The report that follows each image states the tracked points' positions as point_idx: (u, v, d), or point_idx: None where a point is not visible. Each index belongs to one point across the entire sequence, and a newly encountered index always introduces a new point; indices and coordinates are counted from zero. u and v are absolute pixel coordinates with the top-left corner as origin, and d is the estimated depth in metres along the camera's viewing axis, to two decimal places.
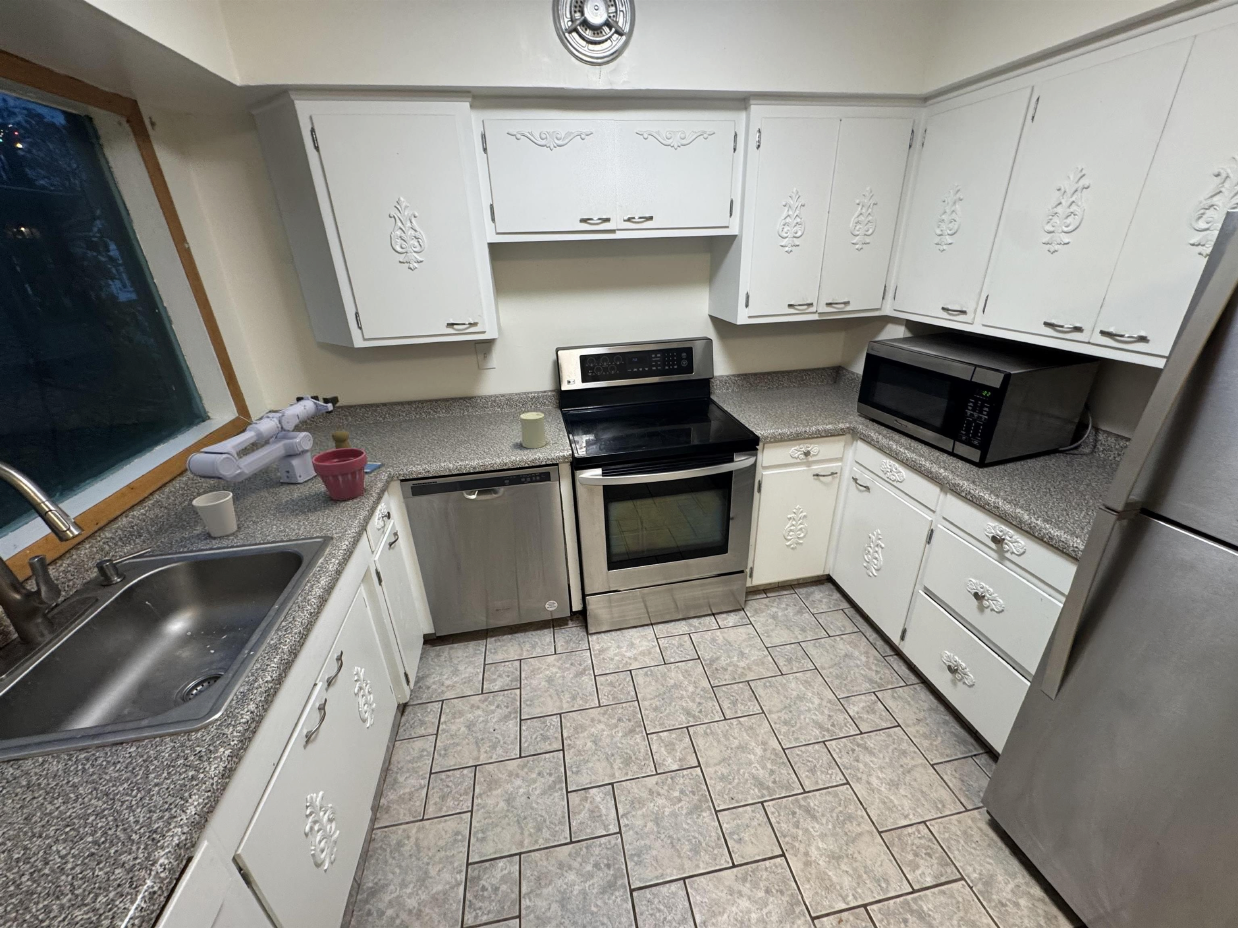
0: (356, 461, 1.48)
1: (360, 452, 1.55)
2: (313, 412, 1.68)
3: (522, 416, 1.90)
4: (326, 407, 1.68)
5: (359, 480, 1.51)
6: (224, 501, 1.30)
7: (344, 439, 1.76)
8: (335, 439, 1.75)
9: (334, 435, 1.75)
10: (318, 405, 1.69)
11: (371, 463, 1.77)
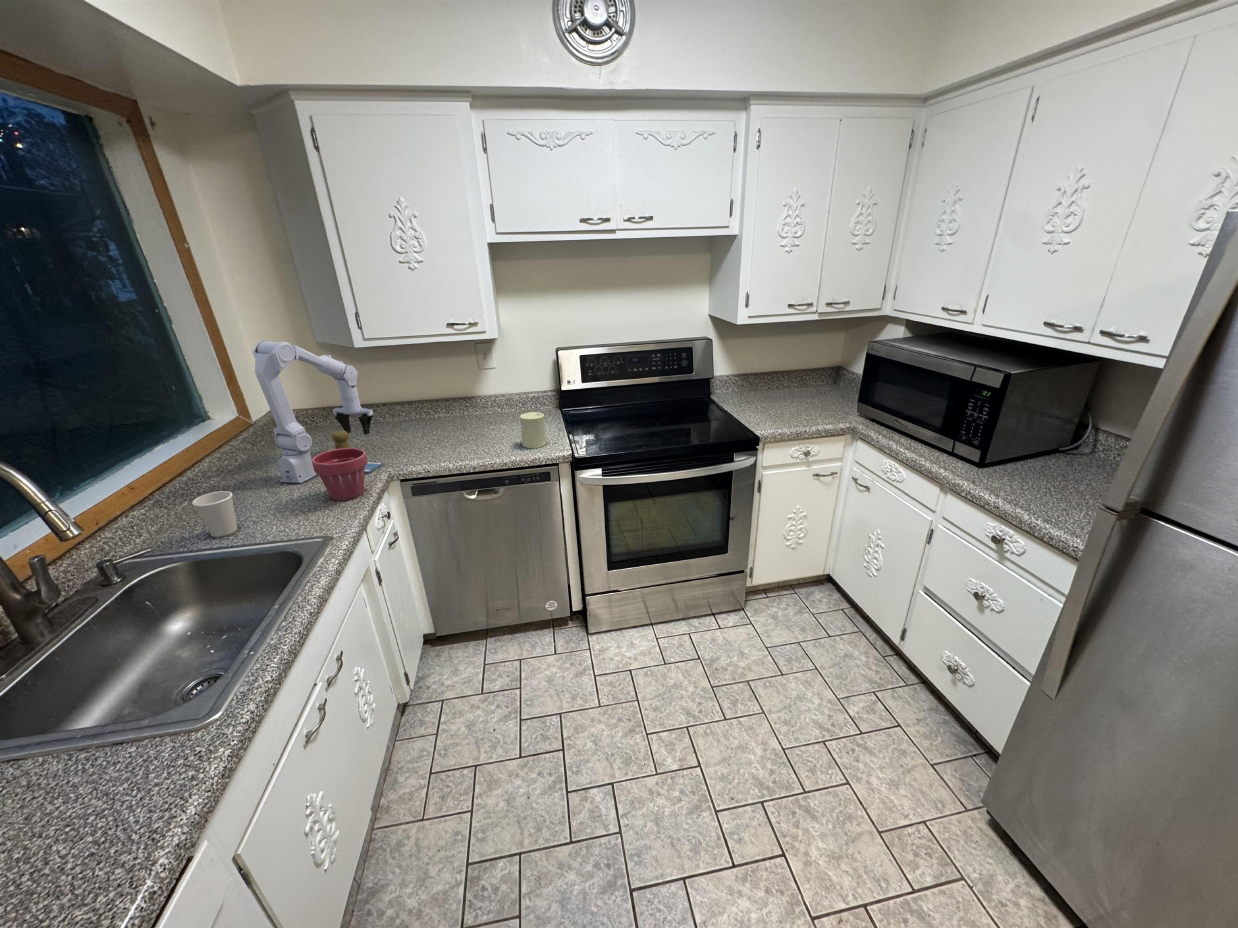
0: (356, 461, 1.48)
1: (360, 452, 1.55)
2: (356, 405, 1.81)
3: (522, 416, 1.90)
4: None
5: (359, 480, 1.51)
6: (224, 501, 1.30)
7: (344, 439, 1.76)
8: (335, 439, 1.75)
9: (334, 435, 1.75)
10: (362, 410, 1.83)
11: (371, 463, 1.77)
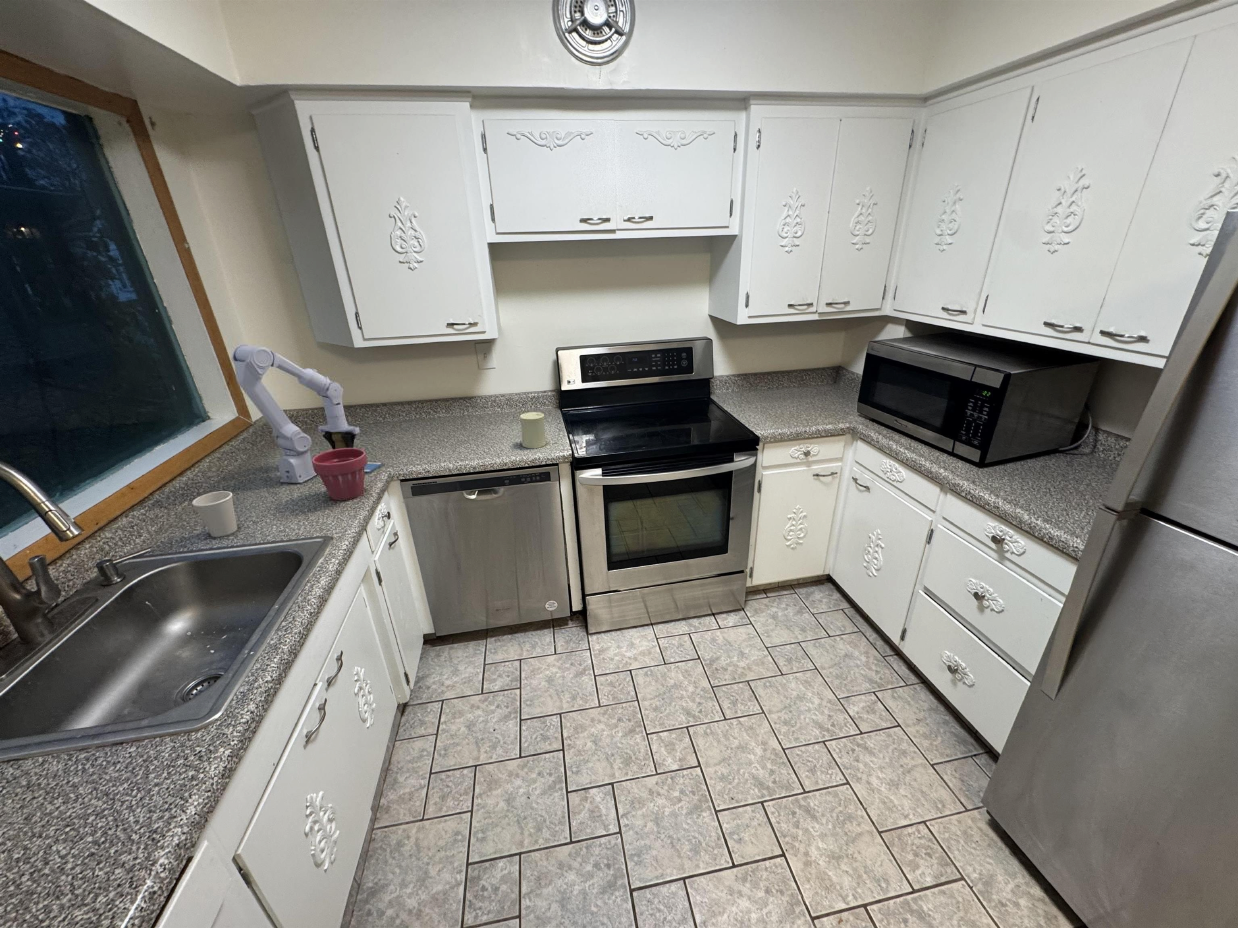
0: (356, 461, 1.48)
1: (360, 452, 1.55)
2: (342, 423, 1.74)
3: (522, 416, 1.90)
4: None
5: (359, 480, 1.51)
6: (224, 501, 1.30)
7: None
8: (335, 439, 1.75)
9: (334, 435, 1.75)
10: (348, 428, 1.76)
11: (371, 463, 1.77)
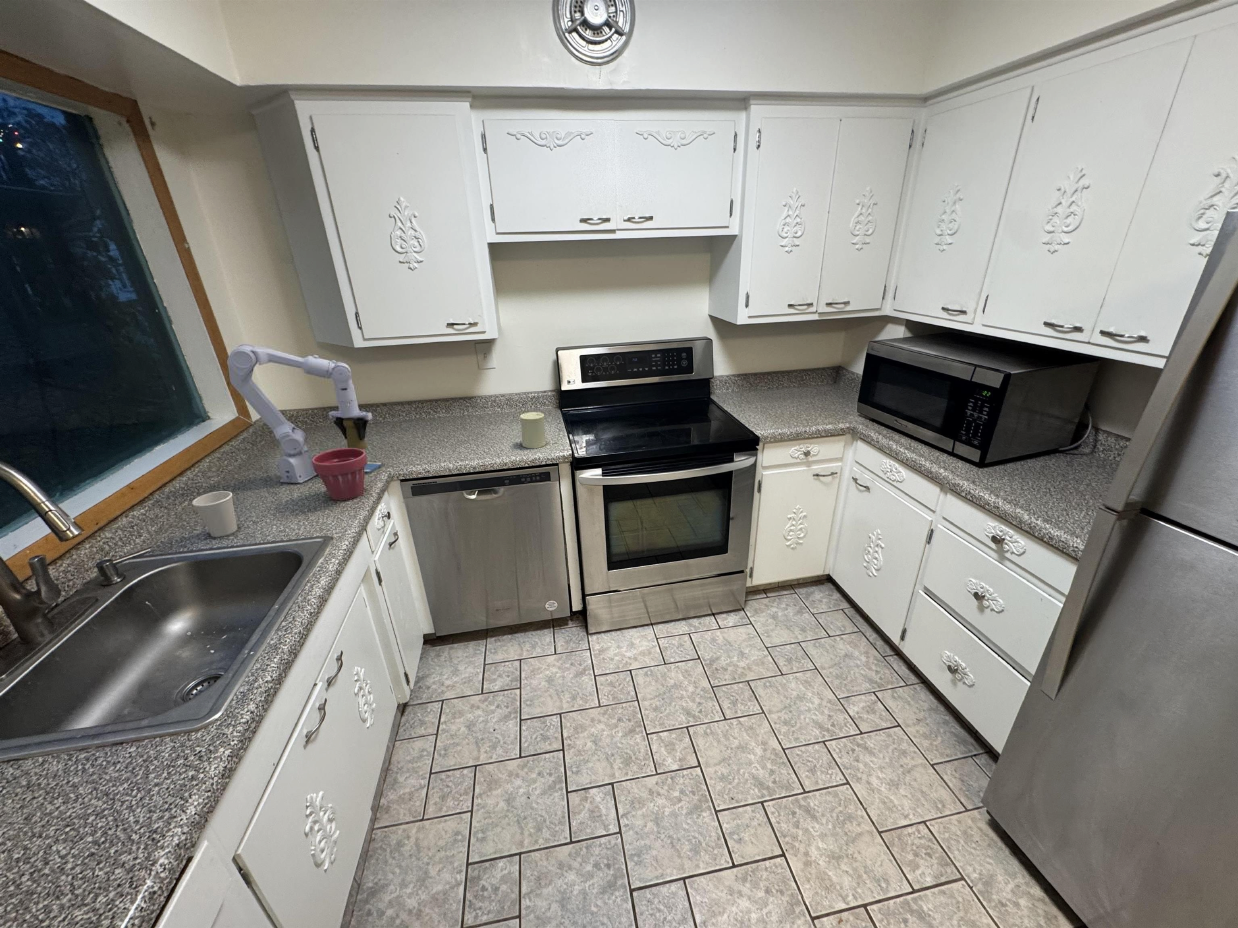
0: (356, 461, 1.48)
1: (360, 452, 1.55)
2: (353, 408, 1.66)
3: (522, 416, 1.90)
4: None
5: (359, 480, 1.51)
6: (224, 501, 1.30)
7: None
8: (346, 425, 1.67)
9: (345, 421, 1.67)
10: None
11: (371, 463, 1.77)
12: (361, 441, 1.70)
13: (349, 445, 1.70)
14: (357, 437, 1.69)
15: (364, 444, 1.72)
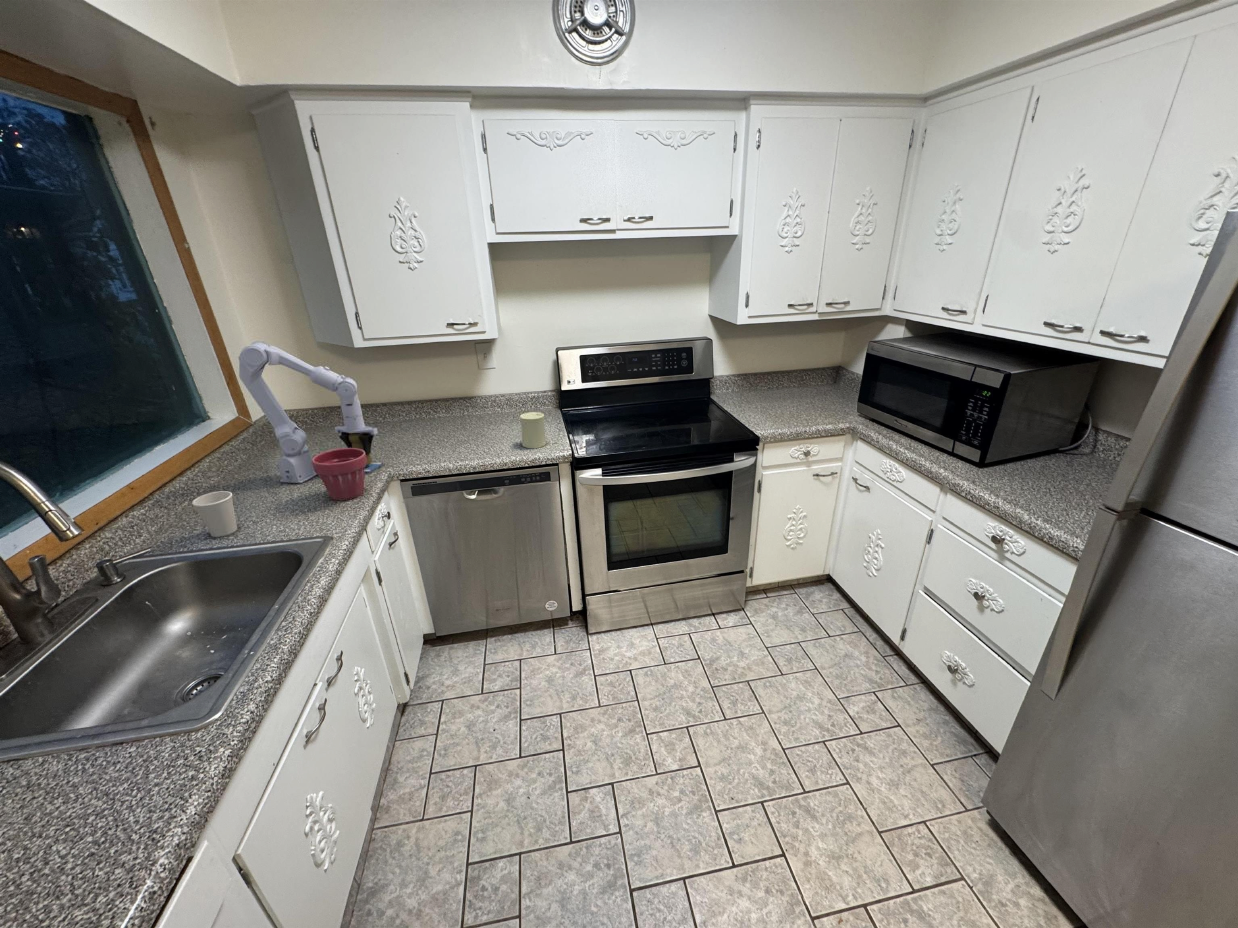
0: (356, 461, 1.48)
1: (360, 452, 1.55)
2: (359, 424, 1.67)
3: (522, 416, 1.90)
4: None
5: (359, 480, 1.51)
6: (224, 501, 1.30)
7: None
8: (352, 440, 1.68)
9: (351, 436, 1.68)
10: None
11: (371, 463, 1.77)
12: (366, 456, 1.71)
13: None
14: None
15: (370, 458, 1.73)
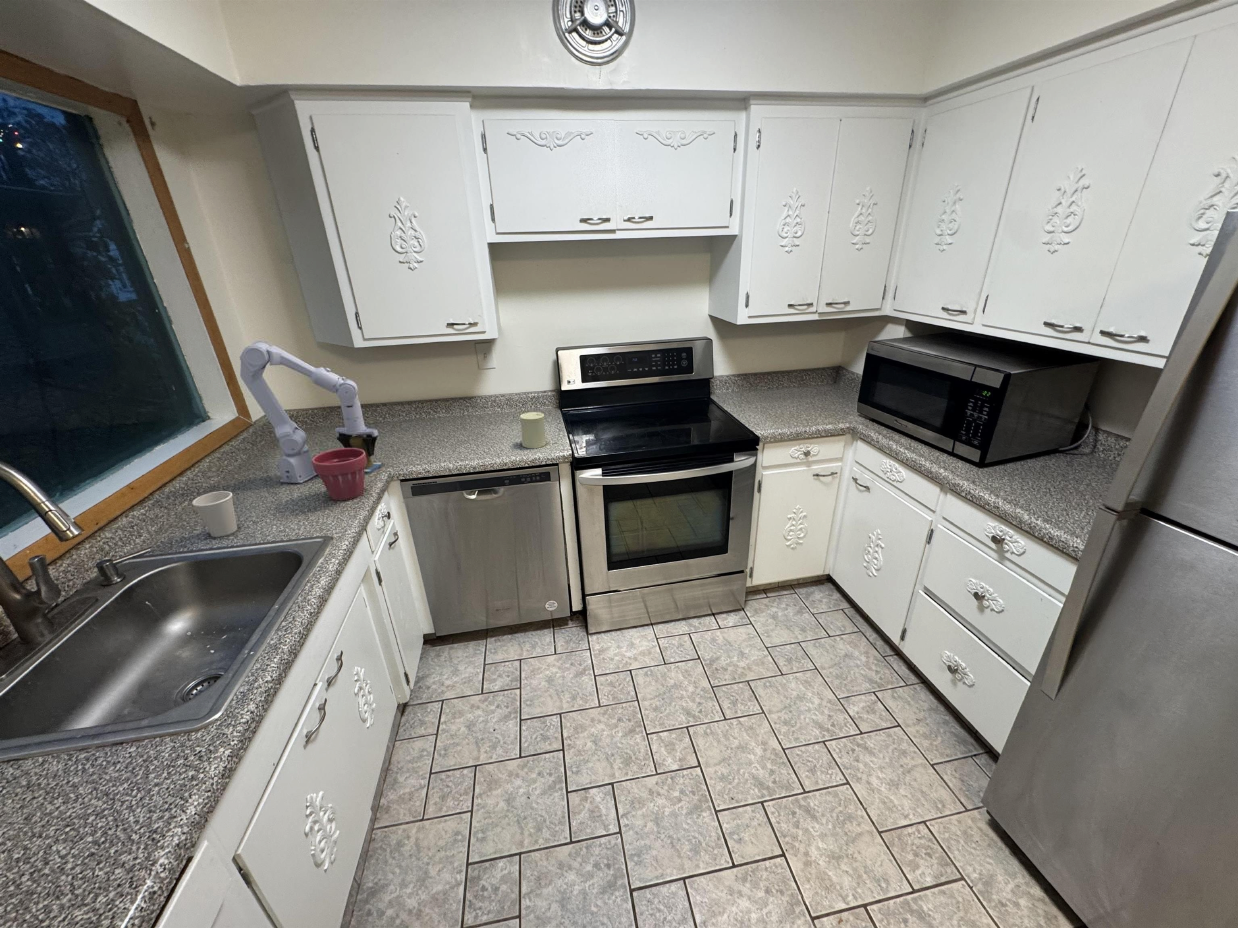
0: (356, 461, 1.48)
1: (360, 452, 1.55)
2: (360, 425, 1.67)
3: (522, 416, 1.90)
4: None
5: (359, 480, 1.51)
6: (224, 501, 1.30)
7: (362, 444, 1.69)
8: (353, 444, 1.68)
9: (352, 440, 1.68)
10: None
11: None
12: (367, 459, 1.72)
13: None
14: None
15: (370, 462, 1.73)
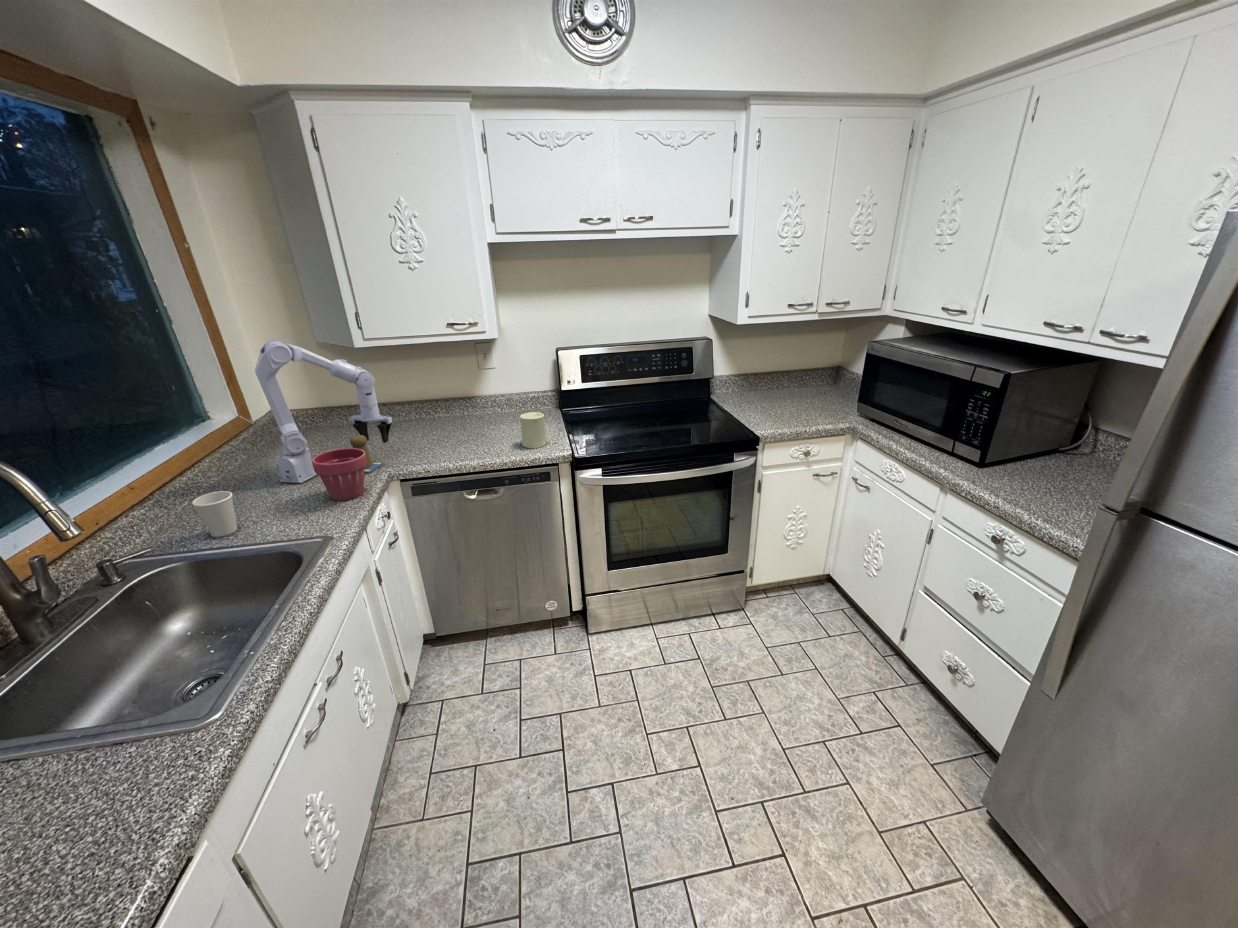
0: (356, 461, 1.48)
1: (360, 452, 1.55)
2: (375, 413, 1.74)
3: (522, 416, 1.90)
4: None
5: (359, 480, 1.51)
6: (224, 501, 1.30)
7: (362, 444, 1.69)
8: (353, 444, 1.68)
9: (352, 440, 1.68)
10: None
11: None
12: (367, 459, 1.72)
13: None
14: None
15: (370, 462, 1.73)
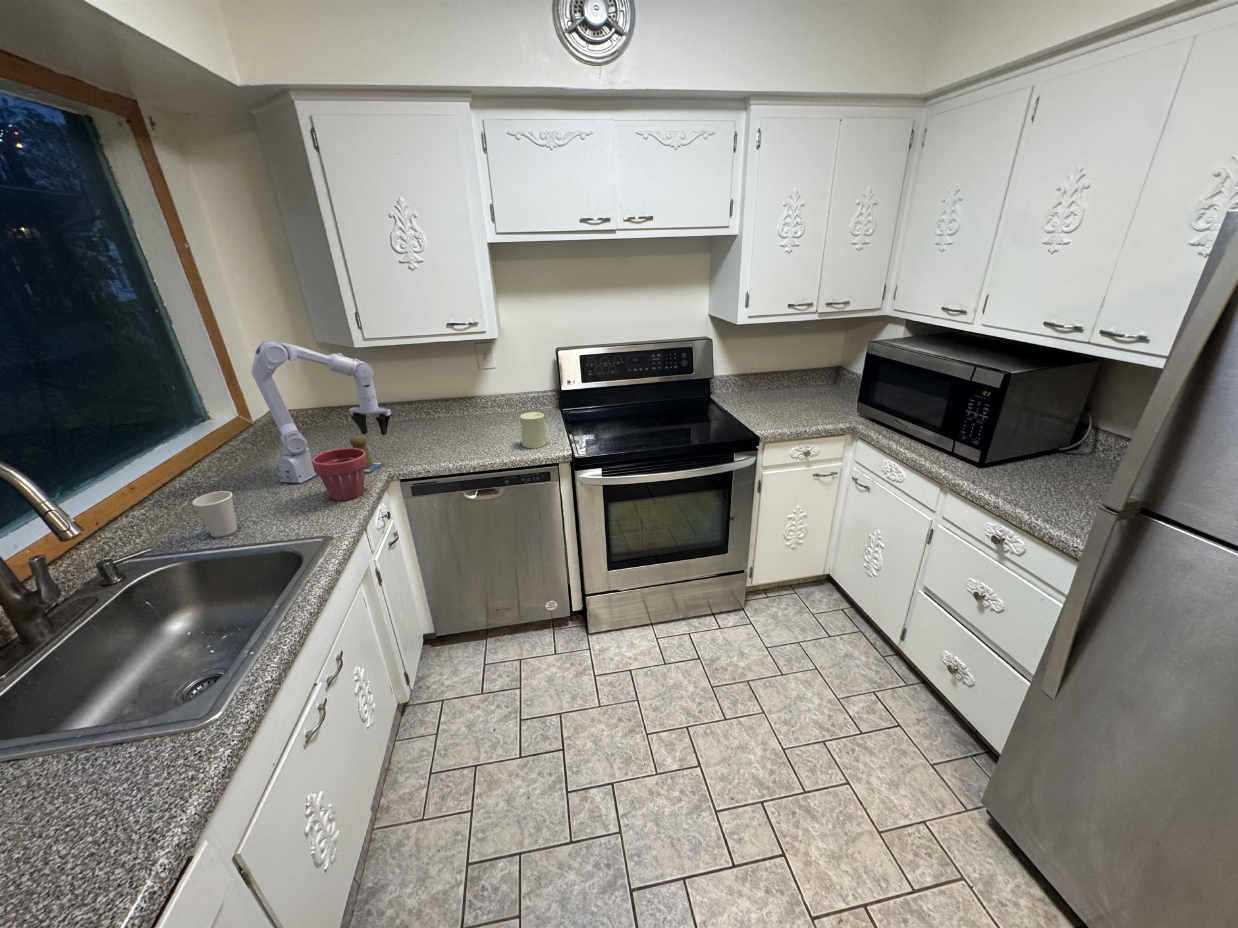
0: (356, 461, 1.48)
1: (360, 452, 1.55)
2: (373, 405, 1.73)
3: (522, 416, 1.90)
4: None
5: (359, 480, 1.51)
6: (224, 501, 1.30)
7: (362, 444, 1.69)
8: (353, 444, 1.68)
9: (352, 440, 1.68)
10: None
11: None
12: (367, 459, 1.72)
13: None
14: None
15: (370, 462, 1.73)
